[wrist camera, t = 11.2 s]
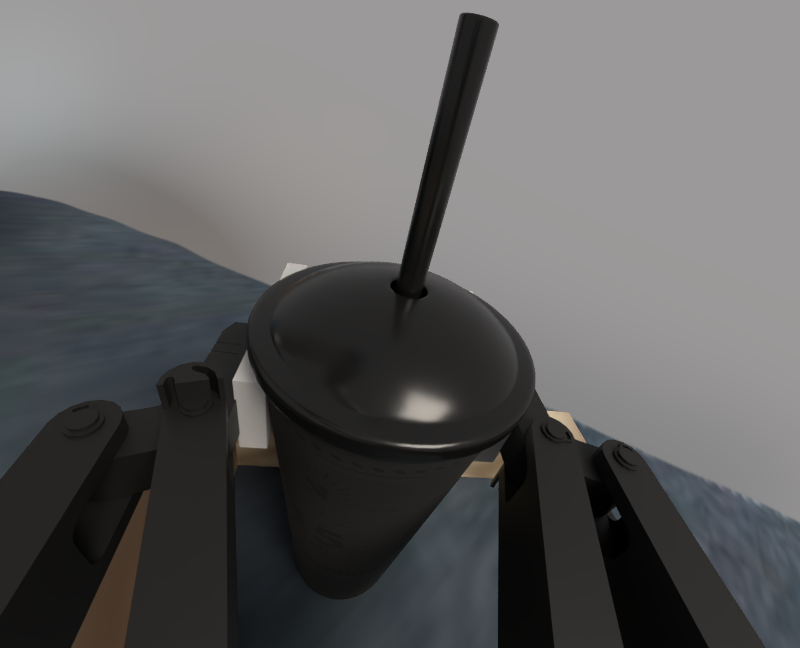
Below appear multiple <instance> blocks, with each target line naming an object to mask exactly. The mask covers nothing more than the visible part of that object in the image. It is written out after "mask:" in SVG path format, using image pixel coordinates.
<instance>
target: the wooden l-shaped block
mask: <svg viewBox="0 0 800 648" xmlns="http://www.w3.org/2000/svg"><path fill="white" fill-rule="evenodd" d="M547 413H548V415H549V417H552V418H554V419H556V420H558V421H560V422H561V423H562V424H564V425H565V426H566V427H567V428H568V429H569V430H570V431H571V433H572V434H573V436H574V438H575V439H576V440H579V441H582V442H584V443H586V442H585V440H584V438H583V436H582V435H581V433H580V431H579V430H578V428H577V426H576V425H575V423H574V421H573V420H572V418H571V416H570V415H569V413H564V412H554V411H547ZM233 456H234V475H235V472H236V469H237V467H238V465H249V466H268V467H279V463H278V457H277V451H276V445H275V439H274V433H273V430H272V433H271V437H270V440H269V443H268V447H267V449H266V448H250V447H240V446H239V437H238V440H237V442H236V445H235V448H234V450H233ZM503 463H504V462H503V459H502V456H501V453H499V454H498V456H497V457H496V459H495V460H494V462H478V461H473V462H472V463H471V465H470V466H469V467H468V468H467V470H466V471H465V472H464V473H463V475H462V476H461V477H476V478H494V476H495V475H496V474H497V472H498V471H499V469H500V468H501V466H502V465H503ZM149 494H150V490H146V491H143V494H142V496H141V498H140V500H139V502H138V504H137V507H136V509H135V511H134V513H133V515H132V517H131V520H130V522H129V524H128V526H127V528H126V530H125V532H124V535H123V537H122V539H121V541H120V543H119V545H118V548H117V550H116V552H115V554H114V556H113V558H112V561H111V563H110V565H109V567H108V569H107V571H106V573H105V576H104V578H103V580H102V582H101V584H100V586H99V589H98V591H97V593H96V595H95V597H94V599H93V602H92V604H91V606H90V608H89V610H88V612H87V614H86V617H85V619H84V621H83V623H82V625H81V627H80V630H79V632H78V634H77V636H76V638H75V640H74V642H73V645H72V647H71V648H124V644H125V638H126V632H127V626H128V620H129V614H130V608H131V602H132V596H133V590H134V584H135V578H136V572H137V566H138V560H139V554H140V548H141V542H142V536H143V530H144V524H145V518H146V512H147V506H148V500H149Z"/></svg>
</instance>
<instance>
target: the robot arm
mask: <svg viewBox="0 0 800 648" xmlns="http://www.w3.org/2000/svg"><path fill="white" fill-rule="evenodd" d="M306 268H307V265H300V264H293V263H288V264H287V266H286V268H285V270H284V272H283V274H282V277H281V279H283V278H284V277H286V276H288V275H291V274H293V273H295V272H298V271H300V270H303V269H306ZM281 279H280V280H281ZM469 292H471V293H473V292H472V291H469ZM246 333H247V324H246V323H238V322H235V323H234V324H232V325H231V326H229V327H228V328H226V329H225V330H224V331H223V332H222V334H221V335H220V337H219V339H218V340H217V343H216V344H215V345H214V347H213V349H212V350H211V353H209V355H208V357H207V358H206V360H205V362H192V363H187V364H182V365H179V366H177V367H175V368H173V369H170V370H169V371H168V372H166V373H165V374H164V375H163V376H162V377H161V378H160V380H159V382H158V383H157V385H156V386H157V389H158V393H159V396H160V399H161V403H162V405H160V406H156V407H152V408H146V409H139V410H133V411H126V412H122V410H121V407H120V406H118V405H117V404H115V403H114V402H111V401H105V400H96V401H87V402H83V403H80V404H77V405H74V406H71V407H69V408H68V409H66V410H64V411H62V412H60V413H58V414H57V415H56V416H55V417H54V418H53V419H51V420H50V421H49V422H48V423H47V424H46V425H45V426H44V428H43V429H42V430H41V431H40V433H39V434H38V435H37V436H36V437H35V439H34V440H33V441H32V442H31V443H30V445H29V446H28V447H27V448H26V449H25V451H24V452H23V453H22V454H21V455H20V457H19V458H18V459H17V460H16V461H15V463H14V464H13V465H12V466H11V467H10V469H9V470H8V471H7V472H6V473H5V475H4V476H3V477H2V478H1V480H0V648H71V647H72V645H73V642H74V640H75V638H76V636H77V634H78V632H79V630H80V627H81V625H82V623H83V621H84V619H85V617H86V614H87V612H88V610H89V608H90V606H91V604H92V602H93V599H94V597H95V595H96V593H97V591H98V589H99V586H100V584H101V582H102V580H103V578H104V576H105V573H106V571H107V569H108V567H109V565H110V563H111V561H112V558H113V556H114V554H115V552H116V550H117V548H118V545H119V543H120V541H121V539H122V537H123V535H124V532H125V530H126V528H127V526H128V524H129V522H130V520H131V517H132V515H133V513H134V511H135V509H136V507H137V504H138V502H139V500H140V498H141V496H142V494H143V491H146V490H150V494H149V500H148V506H147V512H146V518H145V524H144V530H143V536H142V542H141V548H140V554H139V560H138V566H137V572H136V578H135V584H134V590H133V596H132V602H131V608H130V614H129V620H128V626H127V632H126V638H125V644H124V648H238V614H237V570H236V526H235V482H234V456H233V450H234V448H235V445H236V442H237V440H238V437H239V446H240V447H250V448H266V449H267V447H268V443H269V440H270V437H271V433H272V430H273V428H272V422H271V416H270V410H269V404H268V399H267V396H266V394H265V393H264V392H263V390H262V389H261V387H260V385H259V384H258V382H257V381H256V378H255V376H254V374H253V372H252V369H251V366H250V363H249V359H248V352H247V344H246ZM499 453H501V456H502V459H503V462H504V463H503V465H502V466H501V468H500V469H499V471H498V472H497V474H496V475H495V476H494V478H493V479H492V481H491V485H490V486H491V487H493V488H494V486H495V485H496V483H497V482H498V480H499V488H498V489H499V553H498V648H766V647H765V646H764V644H763V643H762V641H761V640H760V638H759V637H758V635H757V634H756V632H755V630H754V629H753V627H752V626H751V624H750V623H749V621H748V620H747V618H746V616H745V615H744V613H743V612H742V610H741V609H740V607H739V606H738V604H737V603H736V601H735V599H734V598H733V596H732V595H731V593H730V592H729V590H728V589H727V587H726V585H725V584H724V582H723V581H722V579H721V578H720V576H719V575H718V573H717V571H716V570H715V568H714V567H713V565H712V564H711V562H710V561H709V559H708V558H707V556H706V554H705V553H704V551H703V550H702V548H701V547H700V545H699V544H698V542H697V540H696V539H695V537H694V536H693V534H692V533H691V531H690V530H689V528H688V527H687V525H686V523H685V522H684V520H683V519H682V517H681V516H680V514H679V513H678V511H677V509H676V508H675V506H674V505H673V503H672V502H671V500H670V499H669V497H668V496H667V494H666V492H665V491H664V489H663V488H662V486H661V485H660V483H659V482H658V480H657V478H656V477H655V475H654V474H653V472H652V471H651V469H650V468H649V466H648V465H647V463H646V462H645V460H644V459H643V458H642V457H641V455H640V454H639V453H637V452H636V451H635V450H634V449H633V448H631V447H630V446H628V445H626V444H624V443H623V442H620V441H616V440H607V441H605V442H604V443H603V444H602V445H601V446H600V447H599V448H598V447H595V446H593V445H590V444H587V443H584V442H582V441H579V440H576V439H575V438H574V436H573V434H572V433H571V431H570V430H569V429H568V428H567V427H566V426H565V425H564V424H562V423H561V422H560V421H558V420H556V419H554V418H552V417H549V415H548V413H547V411H546V409H545V407H544V405H543V403H542V402H541V400H540V398H539V396H538V394H537V392H536V390H534V396H533V399H532V401H531V404H530V406H529V408H528V410H527V412H526V413H525V415H524V417H523V418H522V420H521V421H520V422H519V424H518V425H517V426H516V427H515V428H514V430H513V431H512V432H511V433H510V434H509V435H507V436H506V437H505V438H504V439H503V440H501V441H500V442H498V443H497V444H495V445H494V446H492V447H490V448H488V449H486V450H484V451H481V452H480V453H479V455H478V456H477V457H476V458H475V460H474V461H478V462H494V460H495V459H496V457H497V456H498V454H499ZM615 507H617V509H618V511H619V513H620V515H621V518H620V519H619V520H617V519H616V518H615V517H614V515H613V514H612V512H611V510H612V509H613V508H615Z"/></svg>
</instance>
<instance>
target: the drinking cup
mask: <svg viewBox="0 0 800 648" xmlns="http://www.w3.org/2000/svg"><path fill="white" fill-rule="evenodd" d="M498 27H499V24H498V23H497V21H495V20H493V19H491V18H488V17H486V16H482V15H478V14H474V13H462V14H460V16H459V20H458V24H457V29H456V33H455V38H454V42H453V46H452V50H451V54H450V59H449V63H448V67H447V71H446V76H445V80H444V84H443V88H442V92H441V97H440V101H439V106H438V110H437V114H436V118H435V122H434V127H433V131H432V136H431V139H430V144H429V148H428V152H427V156H426V161H425V165H424V169H423V173H422V178H421V182H420V186H419V190H418V195H417V199H416V203H415V208H414V212H413V216H412V221H411V225H410V229H409V233H408V237H407V242H406V246H405V250H404V254H403V259H402V263H401V264H397V263H389V262H339V263H329V264H323V265H318V266H313V267H310V268H306V269H303V270H300V271H298V272H295V273H293V274H291V275H288V276H286V277H284V278H283V279H281V280H279V281H278V282H276V283H275V284H274V285H272V286H271V287H270V288H269V289H268V290H267V291H265V292H264V293H263V295H262V296H261V297H260V298H259V300H258V301H257V303H256V304H255V306H254V308H253V310H252V312H251V314H250V317H249V320H248V324H247V333H246V344H247V352H248V359H249V363H250V366H251V369H252V372H253V374H254V376H255V378H256V381H257V382H258V384H259V385H260V387H261V389H262V390H263V392H264V393H265V394H266V396H267V399H268V404H269V410H270V416H271V422H272V428H273V433H274V439H275V445H276V451H277V457H278V463H279V468H280V474H281V480H282V486H283V492H284V497H285V503H286V509H287V515H288V521H289V527H290V532H291V538H292V544H293V550H294V556H295V561H296V565H297V568H298V571H299V573H300V575H301V577H302V578H303V580H304V581H305V582H306V584H307V585H308V586H309V587H310V588H311V589H312V590H314V591H315V592H316V593H318V594H320V595H322V596H324V597H327V598H331V599H349V598H353V597H356V596H358V595H360V594H362V593H364V592H365V591H367V590H368V589H369V588H371V587H372V586H373V585H374V584H375V583H376V582H377V581H378V579H379V578H380V577H381V576H382V574H383V573H384V572H385V571H386V569H387V568H388V567H389V566H390V564H391V563H392V562H393V561H394V559H395V558H396V557H397V556H398V554H399V553H400V552H401V551H402V549H403V548H404V547H405V546H406V544H407V543H408V542H409V541H410V539H411V538H412V537H413V536H414V534H415V533H416V532H417V531H418V529H419V528H420V527H421V526H422V524H423V523H424V522H425V521H426V519H427V518H428V517H429V516H430V514H431V513H432V512H433V511H434V509H435V508H436V507H437V506H438V504H439V503H440V502H441V501H442V499H443V498H444V497H445V496H446V495H447V493H448V492H449V491H450V490H451V488H452V487H453V486H454V485H455V483H456V482H457V481H458V480H459V478H460V477H461V476H462V475H463V473H464V472H465V471H466V470H467V468H468V467H469V466H470V465H471V463H472V462H473V461H474V460H475V458H476V457H477V456H478V455H479V453H480V452H481V451H484V450H486V449H488V448H490V447H492V446H494V445H495V444H497V443H498V442H500V441H501V440H503V439H504V438H505V437H506V436H507V435H509V434H510V433H511V432H512V431H513V430H514V428H515V427H516V426H517V425H518V424H519V422H520V421H521V420H522V418H523V417H524V415H525V413H526V412H527V410H528V408H529V406H530V404H531V401H532V399H533V396H534V390H535V369H534V364H533V361H532V357H531V355H530V352H529V350H528V348H527V346H526V344H525V342H524V341H523V339H522V338H521V336H520V335H519V333H518V332H517V331H516V329H515V328H514V327H513V326H512V325H511V324H510V323H509V321H508V320H507V319H506V318H504V317H503V316H502V315H501V314H500V313H499V312H498V311H497V310H496V309H494V308H493V307H492V306H491V305H489V304H488V303H486V302H485V301H484V300H482V299H481V298H479V297H477V296H476V295H474V294H473V293H471V292H469V291H467V290H466V289H463V288H462V287H460V286H458V285H457V284H455V283H453V282H451V281H449V280H448V279H445V278H443V277H441V276H439V275H437V274H434V273H432V272H429V271H428V269H429V266H430V262H431V259H432V255H433V252H434V248H435V245H436V242H437V238H438V234H439V231H440V228H441V224H442V220H443V217H444V214H445V210H446V207H447V203H448V200H449V197H450V193H451V190H452V186H453V183H454V179H455V176H456V172H457V169H458V165H459V161H460V158H461V155H462V152H463V148H464V145H465V141H466V138H467V134H468V131H469V127H470V124H471V120H472V117H473V114H474V110H475V107H476V103H477V100H478V96H479V92H480V89H481V86H482V82H483V79H484V75H485V72H486V69H487V65H488V62H489V58H490V55H491V51H492V48H493V44H494V40H495V37H496V34H497V30H498Z"/></svg>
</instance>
